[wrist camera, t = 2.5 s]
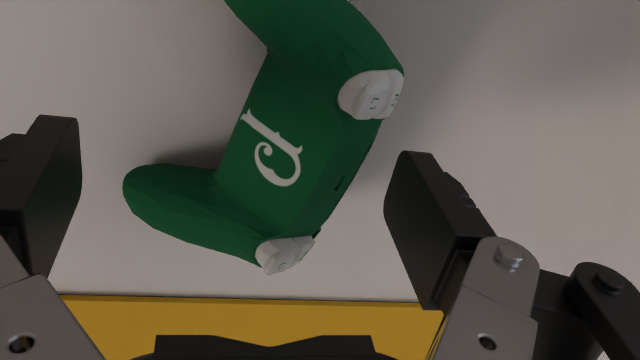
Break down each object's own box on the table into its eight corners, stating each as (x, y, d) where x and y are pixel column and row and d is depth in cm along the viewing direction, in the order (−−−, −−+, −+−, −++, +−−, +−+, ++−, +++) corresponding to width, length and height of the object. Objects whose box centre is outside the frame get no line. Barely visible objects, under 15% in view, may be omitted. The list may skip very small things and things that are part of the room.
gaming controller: (191, 177, 19) (303, 279, 17) (105, 201, 16) (231, 329, 14) (286, -60, 15) (449, 41, 13) (195, -92, 12) (392, 35, 10)
